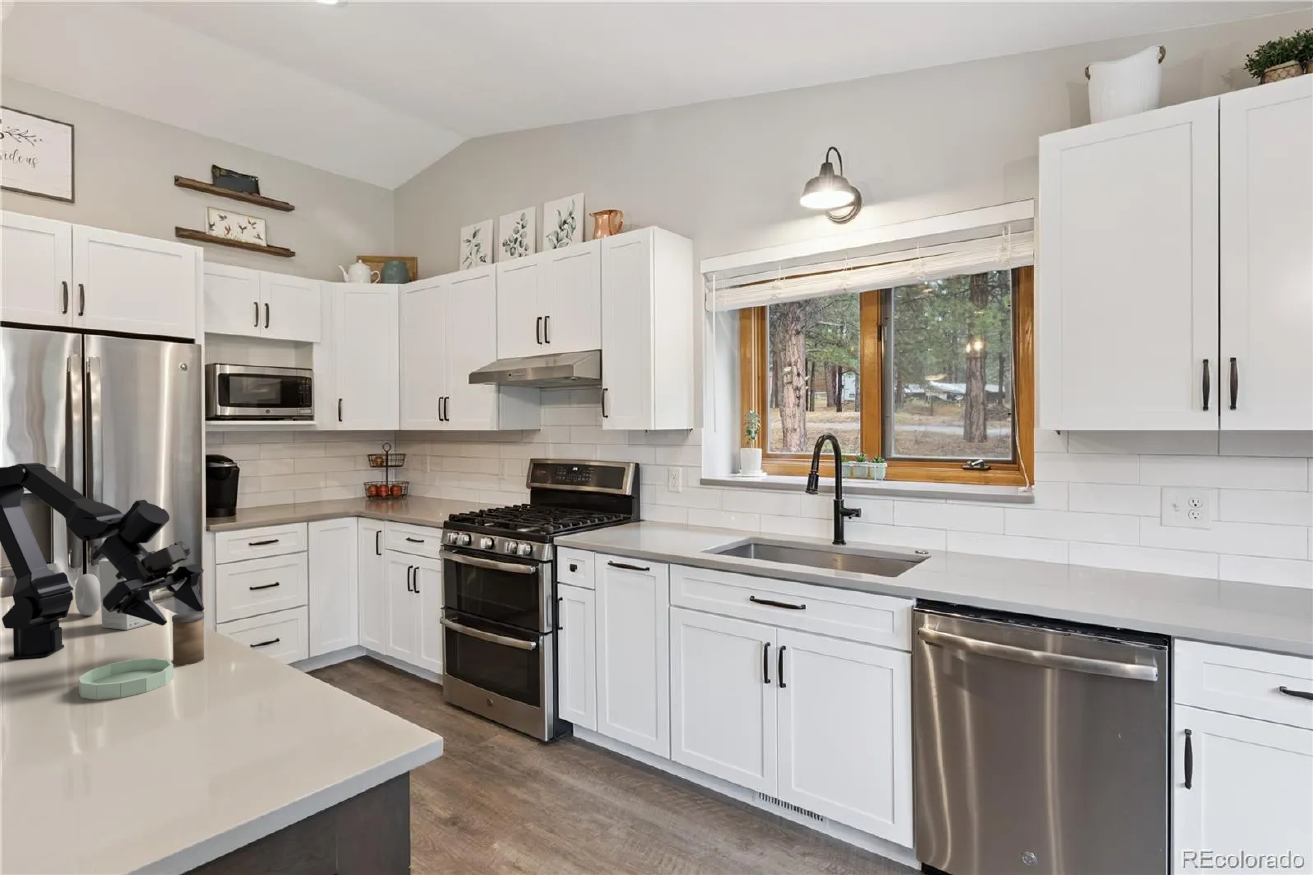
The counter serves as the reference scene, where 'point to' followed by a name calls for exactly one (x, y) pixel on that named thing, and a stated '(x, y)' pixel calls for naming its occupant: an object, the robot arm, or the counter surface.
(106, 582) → the skincare box
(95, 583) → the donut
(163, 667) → the sage green dish
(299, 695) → the counter surface
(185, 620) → the walnut spice jar
